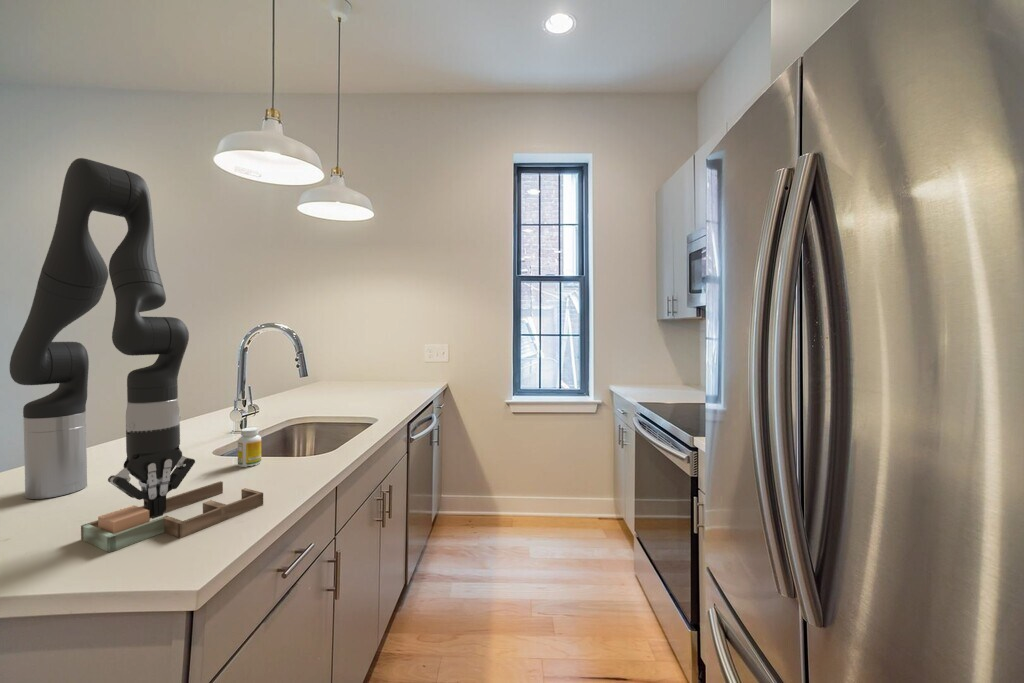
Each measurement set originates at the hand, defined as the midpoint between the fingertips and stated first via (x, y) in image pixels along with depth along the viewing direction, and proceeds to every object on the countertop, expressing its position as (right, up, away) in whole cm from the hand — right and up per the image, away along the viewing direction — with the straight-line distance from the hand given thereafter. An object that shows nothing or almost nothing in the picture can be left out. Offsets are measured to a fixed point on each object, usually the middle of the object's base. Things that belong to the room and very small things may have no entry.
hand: (155, 516), depth 76 cm
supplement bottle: (-4, -1, +34) cm, 34 cm away
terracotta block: (-2, -2, -4) cm, 5 cm away
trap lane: (+3, -2, +2) cm, 4 cm away
